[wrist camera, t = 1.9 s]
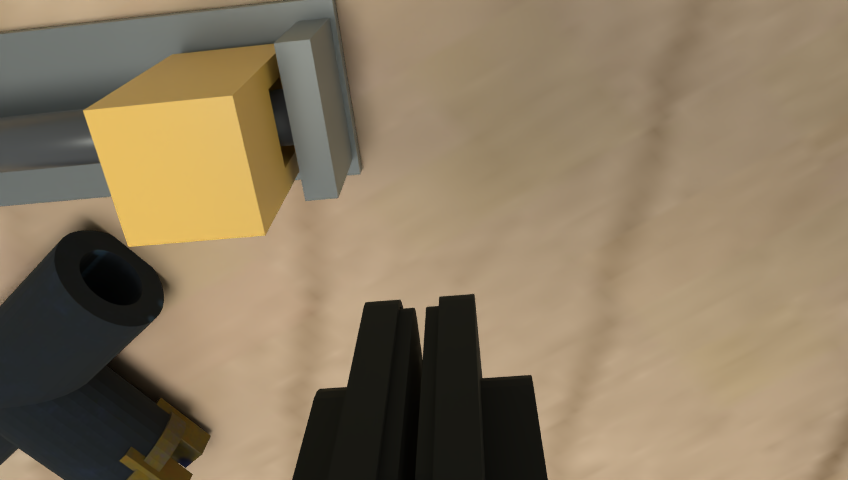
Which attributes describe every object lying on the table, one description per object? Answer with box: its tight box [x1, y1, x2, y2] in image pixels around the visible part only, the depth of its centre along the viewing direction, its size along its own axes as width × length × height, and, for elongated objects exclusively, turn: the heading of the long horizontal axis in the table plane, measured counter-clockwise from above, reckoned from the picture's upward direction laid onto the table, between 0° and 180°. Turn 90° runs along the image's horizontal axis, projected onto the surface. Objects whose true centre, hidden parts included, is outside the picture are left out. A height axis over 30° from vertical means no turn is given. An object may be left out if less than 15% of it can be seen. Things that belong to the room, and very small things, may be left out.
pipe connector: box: [0, 230, 210, 480], centre depth 34 cm, size 12×5×15 cm
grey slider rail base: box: [0, 0, 362, 206], centre depth 27 cm, size 20×7×5 cm, turn 96°
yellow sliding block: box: [83, 44, 299, 247], centre depth 25 cm, size 4×4×7 cm
